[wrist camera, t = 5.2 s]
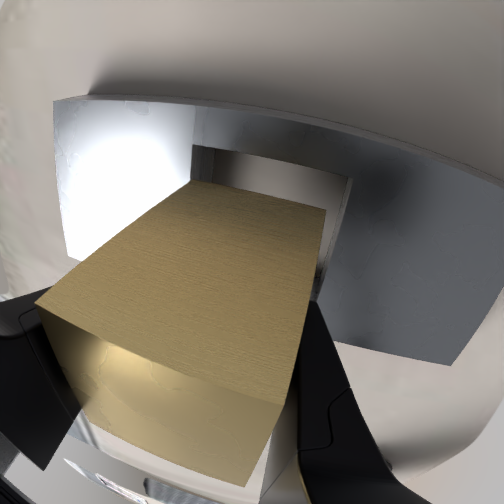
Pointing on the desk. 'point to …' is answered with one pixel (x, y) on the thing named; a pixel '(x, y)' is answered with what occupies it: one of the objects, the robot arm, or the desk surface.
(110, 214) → the grey flat rectangular block
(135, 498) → the photo frame
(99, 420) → the brass block
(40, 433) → the robot arm
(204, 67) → the desk surface
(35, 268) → the desk surface
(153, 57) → the desk surface
